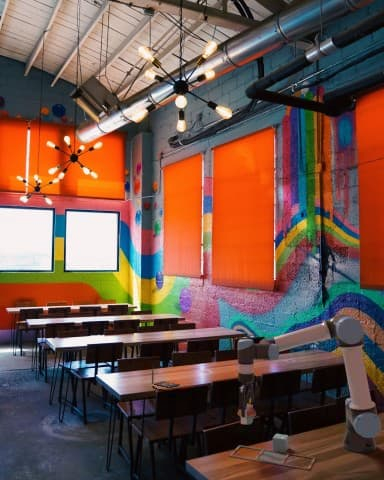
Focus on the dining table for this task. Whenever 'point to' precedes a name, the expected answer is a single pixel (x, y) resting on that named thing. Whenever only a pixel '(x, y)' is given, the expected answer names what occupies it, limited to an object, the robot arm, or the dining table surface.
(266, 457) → the board
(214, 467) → the dining table surface
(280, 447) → the grey cube
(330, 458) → the dining table surface
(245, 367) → the robot arm
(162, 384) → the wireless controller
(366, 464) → the dining table surface
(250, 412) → the cupcake
